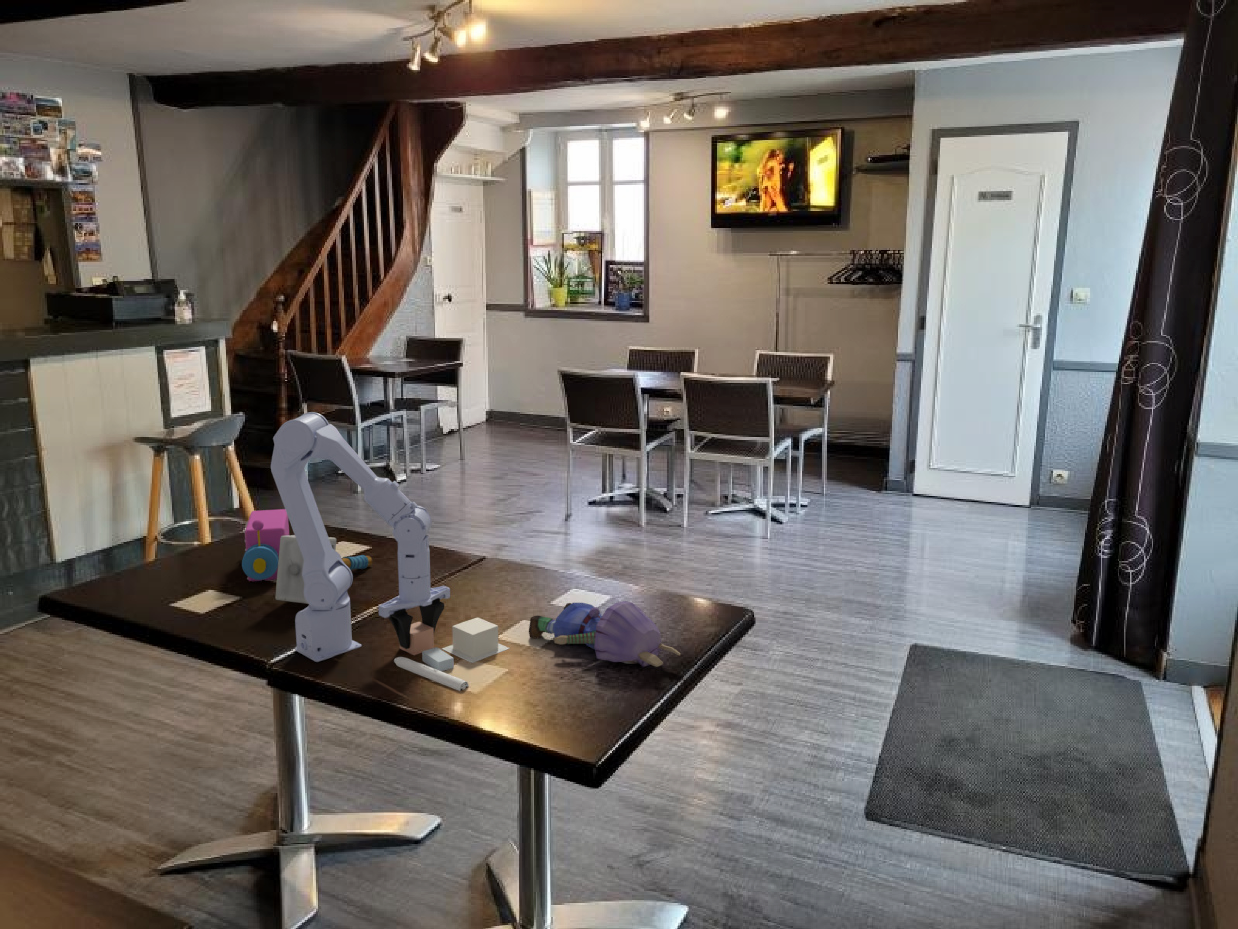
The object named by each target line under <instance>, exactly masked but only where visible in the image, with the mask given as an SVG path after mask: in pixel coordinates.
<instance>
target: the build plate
mask: <svg viewBox="0 0 1238 929" xmlns="http://www.w3.org/2000/svg"><path fill="white" fill-rule="evenodd" d="M509 649H511V648H510V647H509V646H508V647H507V646H505V645H503V644H501V643H499V642H498V649H495V650H493V651H490V652H488V653H485V654H482V655H480V656H477V657H474V658H472V657H470V656H468V655H466V654H464V653H461V652H459V651H457V650H455V649H453V644H451V645H448V646H446V647H442V648H441V650H442V651H444V652H446V653H447V652H448V654H452V655H454V656H456V657H458V658H460V659H463V660H465V661H467V662H469V663H471V664H473V663H476V662H478V661H481V660H483V659H486V658H489V657H492V656H494V655H497V654H499V653H502V652H504V651H506V650H509Z"/></svg>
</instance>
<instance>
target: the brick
mask: <svg viewBox="0 0 1238 929" xmlns="http://www.w3.org/2000/svg"><path fill="white" fill-rule="evenodd" d="M421 655H422V656H421V657H422V658H421V659H422V662H424V663H425V665H427V666H429V667H431V668H434V669H437V670H439V671H441V672H445V671H447V670H451V669H454V668H455V663H454V659H455V658H454V657H453V656H451V655H450V654H449V653H447V652H446V651H445V650H443V649H442V648H439V647H437V646H436V647H434V648H432V649H429V650H425V651H422V653H421Z"/></svg>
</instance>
